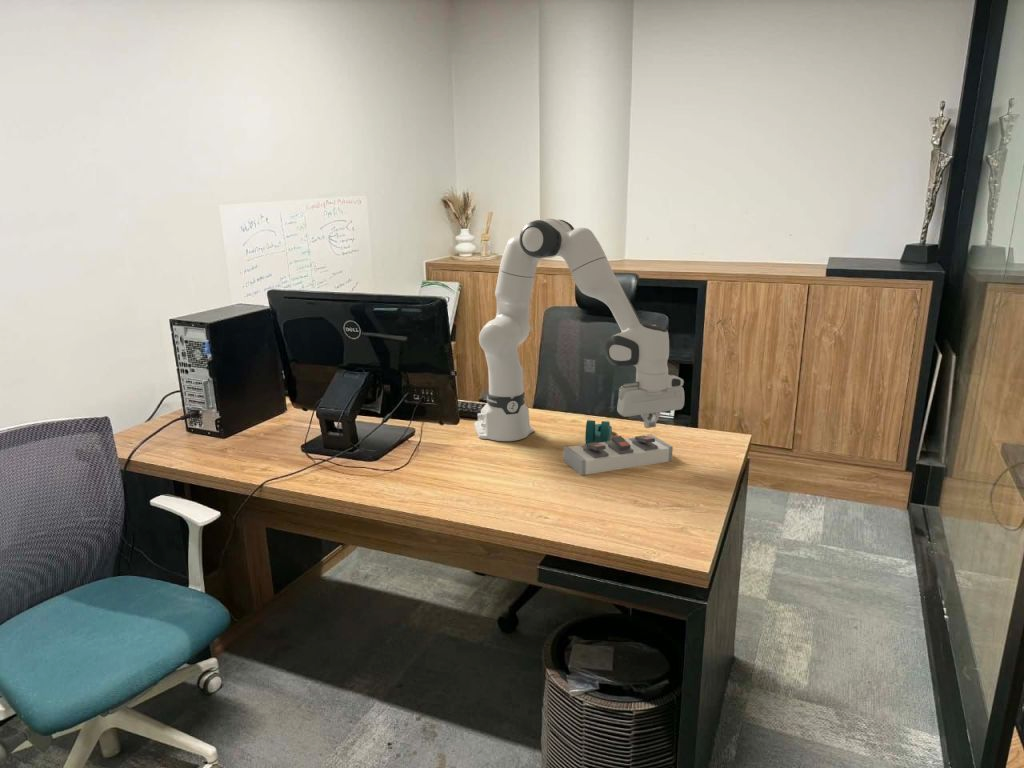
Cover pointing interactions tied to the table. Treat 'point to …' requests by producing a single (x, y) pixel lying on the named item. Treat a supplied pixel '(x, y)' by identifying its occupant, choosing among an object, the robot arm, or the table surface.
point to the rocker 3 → (645, 439)
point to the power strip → (617, 456)
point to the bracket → (598, 432)
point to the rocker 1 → (595, 446)
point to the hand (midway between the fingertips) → (649, 427)
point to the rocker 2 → (620, 442)
